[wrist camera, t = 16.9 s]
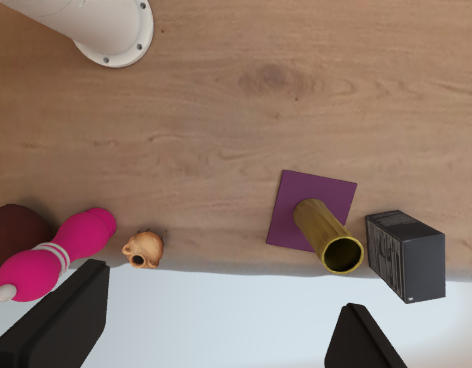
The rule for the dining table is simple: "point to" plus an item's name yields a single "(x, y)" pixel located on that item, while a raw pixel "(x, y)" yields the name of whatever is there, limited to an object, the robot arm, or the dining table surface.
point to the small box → (407, 255)
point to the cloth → (302, 188)
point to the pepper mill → (55, 256)
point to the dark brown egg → (20, 230)
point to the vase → (328, 237)
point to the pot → (144, 249)
